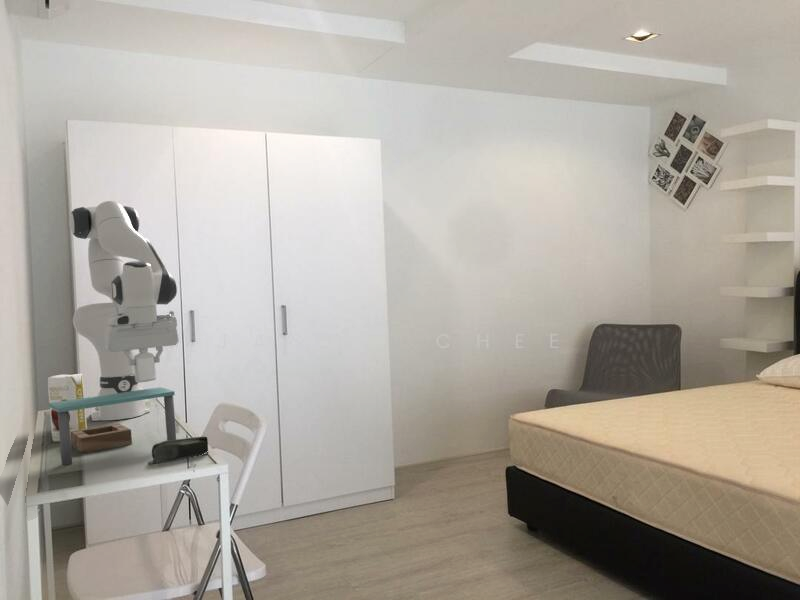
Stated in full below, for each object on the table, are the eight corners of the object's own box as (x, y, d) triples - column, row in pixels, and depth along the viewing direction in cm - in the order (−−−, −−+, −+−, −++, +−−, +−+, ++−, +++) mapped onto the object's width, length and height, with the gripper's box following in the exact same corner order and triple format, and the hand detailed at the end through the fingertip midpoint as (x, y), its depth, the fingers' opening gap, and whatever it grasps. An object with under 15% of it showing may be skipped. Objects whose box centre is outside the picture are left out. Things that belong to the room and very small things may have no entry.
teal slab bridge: (53, 457, 182) (49, 403, 181) (164, 437, 199) (160, 387, 198) (62, 466, 172) (58, 408, 171) (178, 443, 189) (174, 391, 189)
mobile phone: (205, 434, 178) (145, 443, 170) (209, 436, 176) (147, 445, 168) (206, 453, 178) (145, 463, 170) (209, 455, 176) (148, 465, 168)
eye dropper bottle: (155, 381, 201) (152, 340, 200) (135, 383, 199) (131, 341, 199) (156, 379, 205) (153, 339, 205) (136, 381, 204) (133, 340, 203)
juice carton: (65, 436, 208) (60, 373, 208) (91, 435, 207) (86, 372, 206) (48, 442, 201) (43, 377, 200) (75, 442, 199) (70, 376, 199)
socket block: (71, 445, 195) (70, 431, 195) (119, 436, 203) (118, 423, 203) (81, 453, 185) (80, 438, 185) (132, 443, 193) (131, 429, 192)
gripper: (172, 313, 210) (175, 359, 211) (101, 319, 198) (105, 367, 199) (179, 314, 205) (183, 360, 206) (107, 320, 193) (111, 369, 194)
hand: (144, 364), depth 202 cm, fingers closed on eye dropper bottle, 6 cm apart
